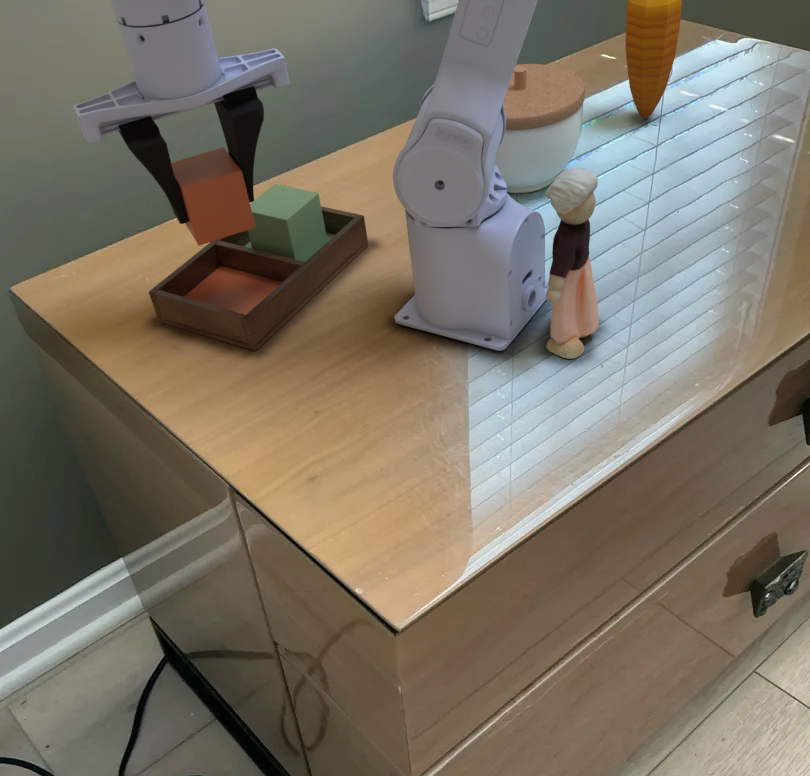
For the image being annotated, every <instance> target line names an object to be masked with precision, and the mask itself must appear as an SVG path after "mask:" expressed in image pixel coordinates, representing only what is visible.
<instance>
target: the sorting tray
mask: <svg viewBox="0 0 810 776" xmlns="http://www.w3.org/2000/svg"><path fill="white" fill-rule="evenodd" d="M321 209H322V214H323V220H324V225H325V230H326V236H327V241H328V242H327V243H326V244H325V245H323V246H322V247H321V248H320V249H319V250H318V251H317V252H316V253H315V254H313V255H312V256H311V257H310V258H309V259H308V260H307V261H306V262H304V261H300V260H296V259H292V258H288V257H284V256H280V255H276V254H272V253H268V252H264V251H260V250H255V249H252V245H251V241H250V237H249V234H248V230H246V231H243V232H240V233H237V234H234V235H231V236H228V237H225V238H221V239H218V240H215V241H212V242H209V243H207V244H205V246H203V247H202V248H201V249H200V250H199V251H197V252H196V253H195V254H194V255H192V256H191V257H190V258H189V259H187V260H186V261H185V262H184V263H183V264H181V265H180V266H178V268H176V269H175V270H174V271H173V272H171V273H170V274H168V275H167V276H166V277H165V278H164V279H163V280H161V281H160V282H159V283H158V284H156V285H155V286H154V287H153V288H152V289H150V290H149V291H148V295H149V297H150V301H151V303H152V306H153V309H154V312H155V315H156V317H157V320H158V322H159V323H163V324H165V325H169V326H172V327H174V328H175V327H176V328H179V329H182V330H185V331H189V332H192V333H195V334H198V335H202V336H204V337H205V336H206V337H207V338H208V337H209V338H211V339H215V340H218V341H222V342H225V343H228V344H231V345H234V346H238V347H241V348H244V349H248V350H252V351H257V350H259V349H260V348H261V347H262V346H263V345H265V343H266V342H267V341H268V340H269V339H270V338H271V337H272V336H273V335H275V334H276V333H277V332H278V331H279V330H280V329H281V328H282V327H283V326H284V325H286V324H287V322H288V321H290V320H291V319H292V318H293V317H294V316H295V315H296V314H297V313H298V312H299V311H300V310H301V309H302V308H304V306H305V305H306V304H308V303H309V302H310V301H311V300H312V299H313V298H314V297H315V296H316V295H317V294H318V293H319V292H321V291H322V289H324V288H325V287H326V286H327V285H328V284H329V283H330V282H331V281H332V280H333V279H335V277H337V276H338V274H339V273H341V272H342V271H343V270H345V268H346V267H347V266H348V265H349V264H350V263H352V261H354V259H356V258H357V257H358V256H359V255H360V254H361V253H362V252H364V250H366V248H367V247H369V240H368V234H367V233H368V232H367V226H366V221H365V215H363V214H358V213H354V212H350V211H346V210H341V209H337V208H336V209H335V208H332V207H328V206H327V207H326V206H323V205H321Z"/></svg>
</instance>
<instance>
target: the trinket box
mask: <svg viewBox="0 0 810 776" xmlns="http://www.w3.org/2000/svg"><path fill="white" fill-rule="evenodd" d="M585 98H586V85H585V82H584V80H583V78H582V77H581V76H579V75H578V74H577V73H576V72H574V71H572V70H570V69H567V68H565V67H561V66H558V65H552V64H543V63H522V64H521V63H520V64H516V66H515V69H514V72H513V74H512V77H511V80H510V83H509V86H508V89H507V92H506V96H505V99H504V108H505V114H506V130H505V135H504V137H503V140H502V143H501V145H500V146H499V149H498V152H497V156H496V159H495V163H494V164H495V165H496V166H497V167H498V169H499V171H500V173H501V175H502V177H503V180H504V182H506V185H507V193H508V194H509V193H511V194H526V193H527V194H528V193H533V192H537V191H540V190H543V189H544V188H547V187H548V186H550V185H551V184H552V183H553V181H554V179H555V178H556V177H557V176H558V175H559V174H560V173H562V172H563V171H564V169H565V168H566V167H567V166H568V164H569V163H570V161H571V160H572V158H573V157H574V154H575V153H576V150H577V148H578V144H579V141H580V138H581V134H582V133H581V132H582V127H583V117H584V116H583V115H584V103H585Z"/></svg>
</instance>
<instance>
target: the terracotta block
mask: <svg viewBox="0 0 810 776" xmlns="http://www.w3.org/2000/svg"><path fill="white" fill-rule="evenodd" d="M171 165H172V169H173V173H174V176H175V180H176V183H177V186H178V189H179V191H180V194H181V197H182V199H183V202H184V204H185V208H186V211H187V215H188V219H189V222H187V223H184V225H185V226H186V228H187V229H188V231H189V232H190V234H191V236H192V237H193V239H194V241H195V242H196V244H197V246H199V247H200V246H202V245H203V246H204V245H207V244H209V243H210V242H212V241H215V240H218V239H221V238H225V237H228V236H231V235H234V234H237V233H240V232H243V231H246V230H249V229H252V228H255V223H254V219H253V215H252V211H251V206H250V203H251V202H249V198H248V194H247V190H246V186H245V182H244V178H243V174H242V171H241V169H240V168H239V167H238V165H237V164H236V163H235V161H234V160H233V159H232V157H231V156H230V155H229V152H228V150H227V149H226V148H225V147H219V148H216V149H212V150H209V151H206V152H203V153H199V154H196V155H193V156H189V157H185V158H183V159H180V160H176V161H172V162H171Z"/></svg>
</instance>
